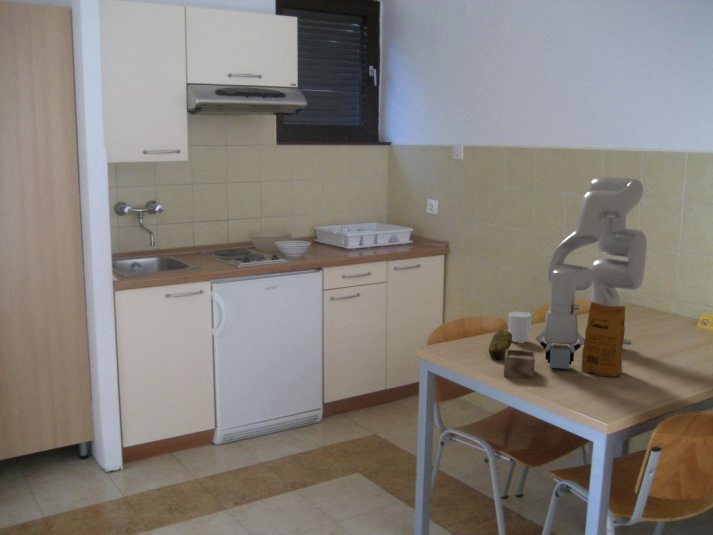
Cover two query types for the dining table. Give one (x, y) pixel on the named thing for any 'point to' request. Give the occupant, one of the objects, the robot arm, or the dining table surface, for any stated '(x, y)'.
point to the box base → (519, 364)
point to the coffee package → (604, 340)
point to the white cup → (519, 326)
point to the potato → (500, 344)
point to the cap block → (559, 356)
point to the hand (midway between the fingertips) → (559, 362)
